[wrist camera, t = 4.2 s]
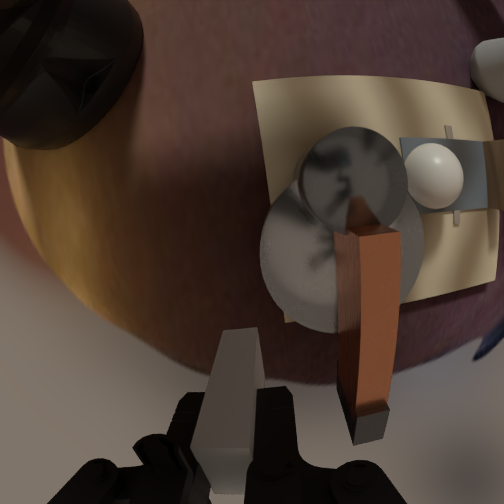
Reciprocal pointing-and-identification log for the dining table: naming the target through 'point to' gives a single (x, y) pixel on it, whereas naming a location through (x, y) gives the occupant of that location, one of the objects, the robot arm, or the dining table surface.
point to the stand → (405, 140)
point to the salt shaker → (489, 68)
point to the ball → (434, 175)
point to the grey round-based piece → (347, 261)
